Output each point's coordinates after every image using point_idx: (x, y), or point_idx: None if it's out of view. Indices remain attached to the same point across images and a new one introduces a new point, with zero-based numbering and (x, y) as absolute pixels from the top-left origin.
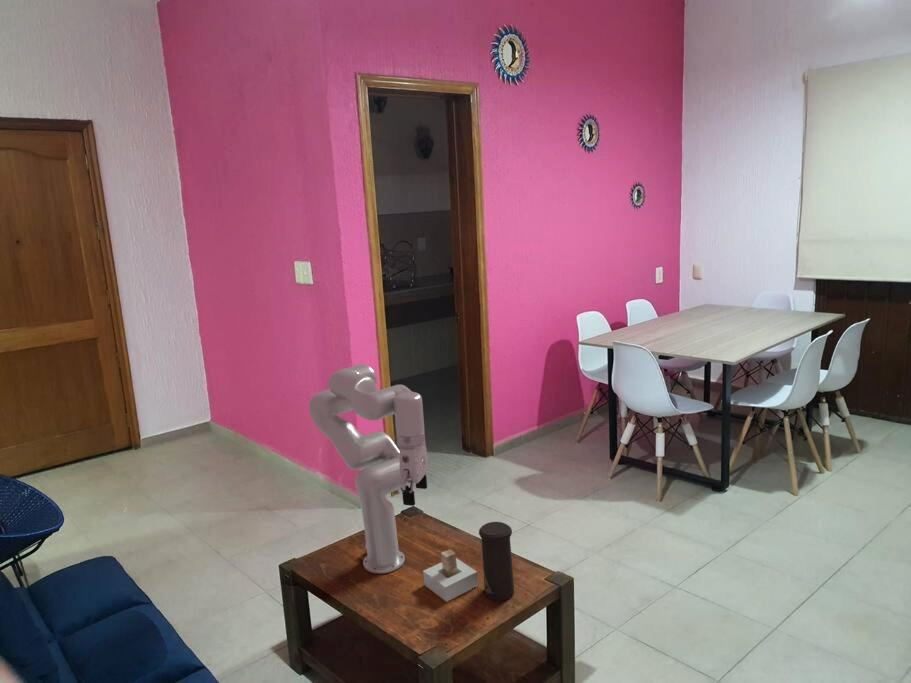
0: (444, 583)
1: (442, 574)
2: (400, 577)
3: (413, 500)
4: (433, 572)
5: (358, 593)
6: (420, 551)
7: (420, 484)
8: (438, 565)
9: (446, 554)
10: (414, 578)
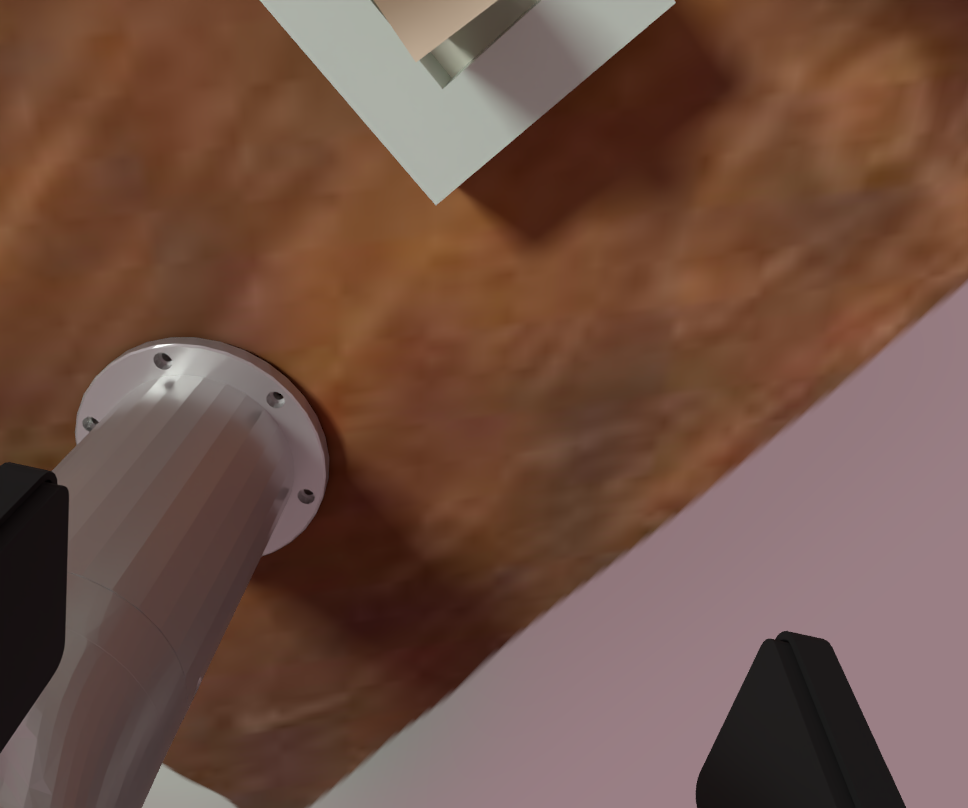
0: (619, 14)
1: None
2: (361, 339)
3: (856, 730)
4: (459, 121)
5: (514, 537)
6: (51, 246)
7: (18, 642)
8: (363, 89)
9: (451, 2)
10: (371, 252)
